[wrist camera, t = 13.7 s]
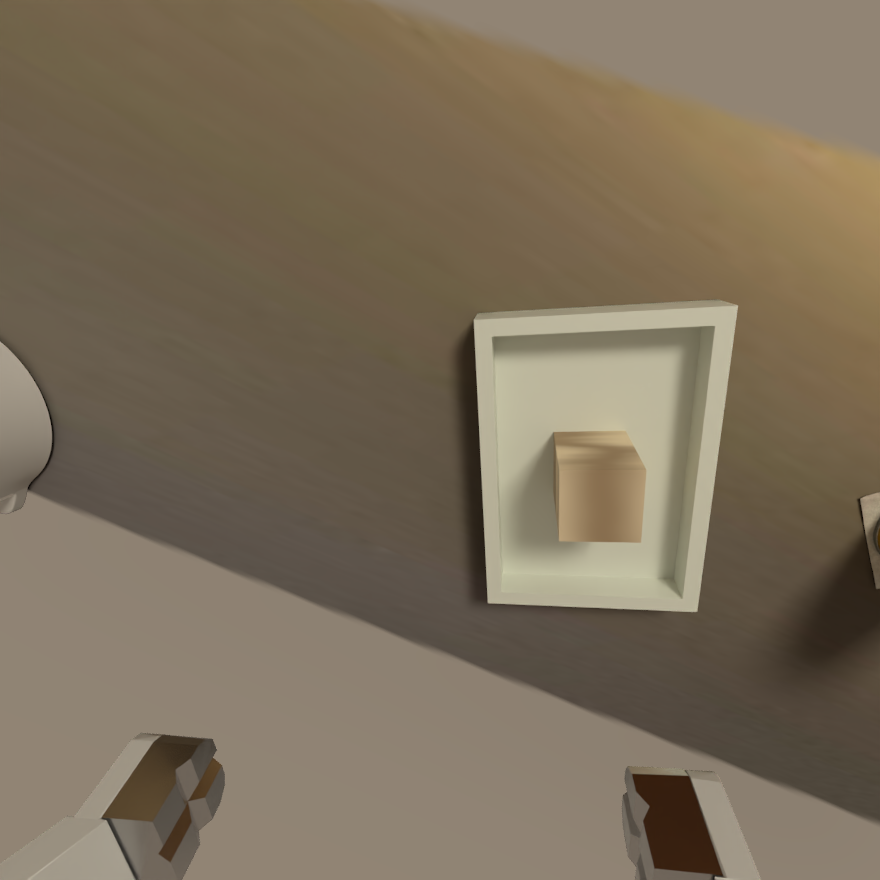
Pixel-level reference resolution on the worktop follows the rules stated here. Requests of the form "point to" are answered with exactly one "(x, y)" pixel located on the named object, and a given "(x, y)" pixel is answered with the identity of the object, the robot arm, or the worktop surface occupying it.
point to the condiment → (872, 531)
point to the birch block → (598, 487)
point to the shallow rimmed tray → (601, 409)
